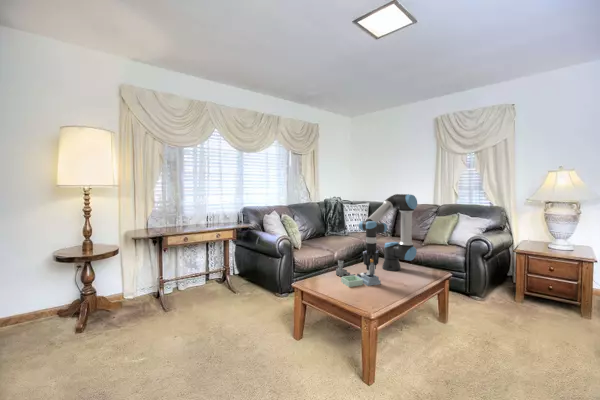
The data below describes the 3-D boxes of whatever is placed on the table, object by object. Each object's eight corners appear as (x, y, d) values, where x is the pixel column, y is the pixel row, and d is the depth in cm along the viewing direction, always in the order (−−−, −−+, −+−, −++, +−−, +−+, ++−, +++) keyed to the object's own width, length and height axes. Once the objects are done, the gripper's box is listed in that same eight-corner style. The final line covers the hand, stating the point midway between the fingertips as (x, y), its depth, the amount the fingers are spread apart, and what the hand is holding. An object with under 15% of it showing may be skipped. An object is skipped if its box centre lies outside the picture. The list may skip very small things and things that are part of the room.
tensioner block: (355, 278, 225) (355, 271, 225) (367, 277, 229) (367, 270, 229) (367, 285, 209) (367, 278, 209) (380, 284, 213) (380, 276, 213)
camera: (340, 259, 240) (355, 262, 229) (340, 273, 240) (355, 277, 229) (334, 261, 234) (348, 264, 223) (333, 275, 235) (348, 280, 224)
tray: (354, 280, 222) (354, 275, 222) (362, 285, 211) (362, 279, 211) (341, 281, 218) (341, 277, 218) (348, 287, 207) (348, 281, 207)
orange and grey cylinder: (371, 278, 217) (371, 258, 216) (374, 279, 214) (374, 259, 213) (367, 278, 216) (367, 258, 215) (370, 280, 213) (370, 260, 212)
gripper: (377, 240, 220) (377, 271, 221) (358, 242, 214) (358, 273, 215) (383, 242, 212) (383, 274, 214) (364, 244, 207) (364, 276, 208)
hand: (371, 273), depth 215 cm, fingers closed on orange and grey cylinder, 3 cm apart
